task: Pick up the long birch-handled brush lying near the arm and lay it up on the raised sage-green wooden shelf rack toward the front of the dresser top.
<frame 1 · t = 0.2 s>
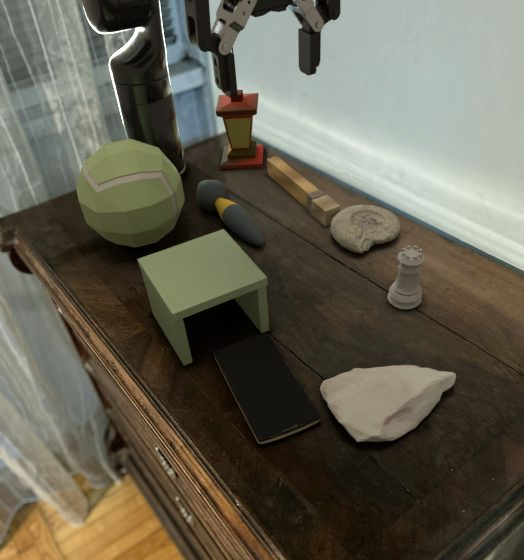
hand: (269, 83, 53), 29 cm above the dresser, tool pointing down, fingers open, 8 cm apart
stone: (391, 403, 62), on the dresser
fossil: (362, 237, 84), on the dresser
rook chess piece: (403, 301, 74), on the dresser
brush: (298, 194, 94), on the dresser
light fixture: (242, 159, 104), on the dresser
paintbrush: (232, 222, 89), on the dresser
smartphone: (264, 389, 64), on the dresser
shelf: (209, 322, 73), on the dresser
decorative sphere: (142, 237, 88), on the dresser
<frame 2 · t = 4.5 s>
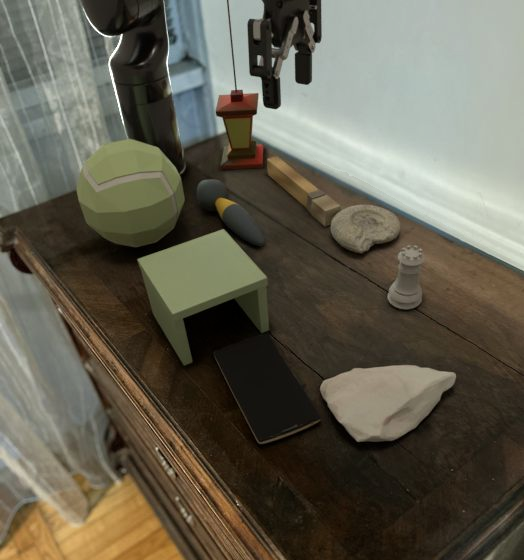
hand: (288, 94, 72), 20 cm above the dresser, tool pointing down, fingers open, 8 cm apart
nothing on the dresser moved.
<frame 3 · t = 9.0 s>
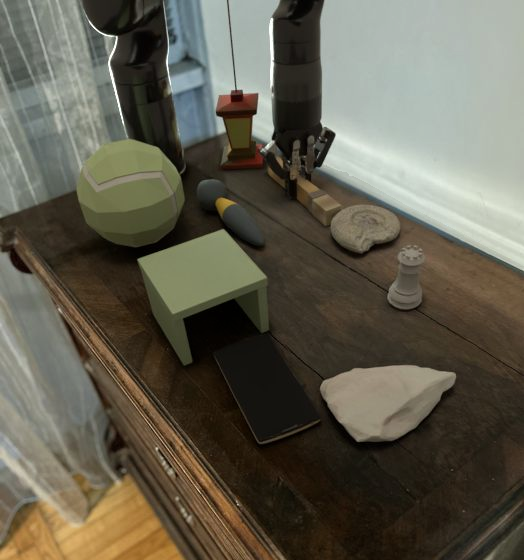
hand: (298, 194, 94), 0 cm above the dresser, tool pointing down, fingers closed on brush
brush: (298, 194, 94), on the dresser, touching gripper
everything else where it was.
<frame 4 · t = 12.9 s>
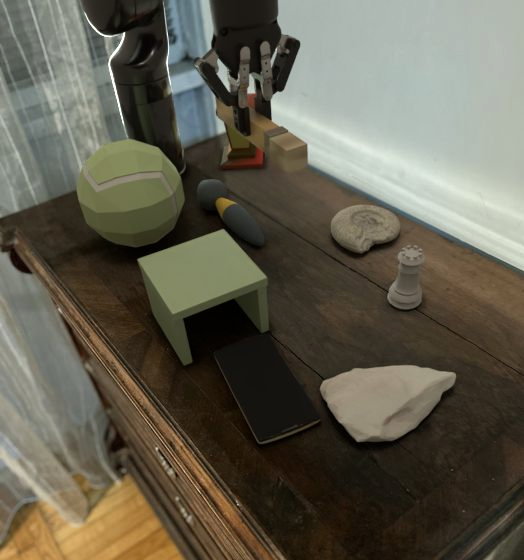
hand: (254, 130, 70), 18 cm above the dresser, tool pointing down, fingers closed on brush
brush: (254, 138, 71), point 17 cm above the dresser, touching gripper
everything else where it was.
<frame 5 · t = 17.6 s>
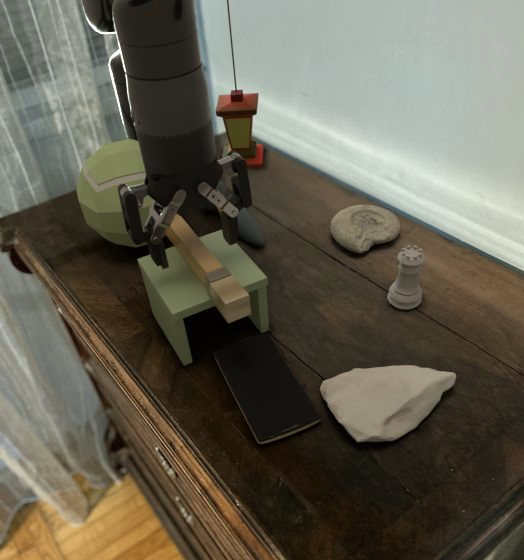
hand: (197, 253, 65), 11 cm above the dresser, tool pointing down, fingers open, 8 cm apart
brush: (200, 268, 66), point 9 cm above the dresser, touching shelf
everything else where it was.
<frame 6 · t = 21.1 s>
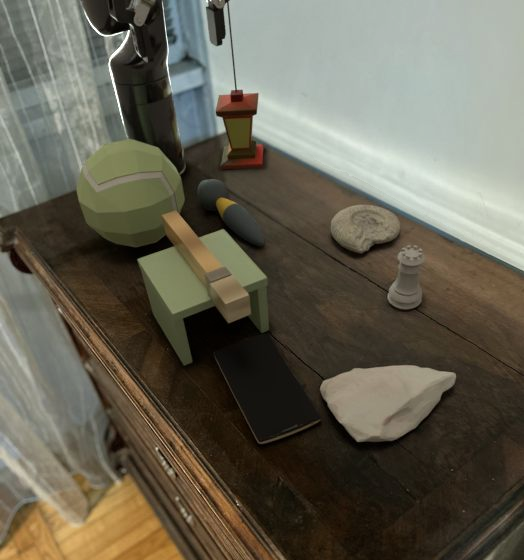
hand: (183, 52, 64), 28 cm above the dresser, tool pointing down, fingers open, 8 cm apart
nothing on the dresser moved.
at the end: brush inside the target area on the shelf (0.1 cm from its centre), point 9.0 cm above the shelf's base; the gripper is holding nothing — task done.
